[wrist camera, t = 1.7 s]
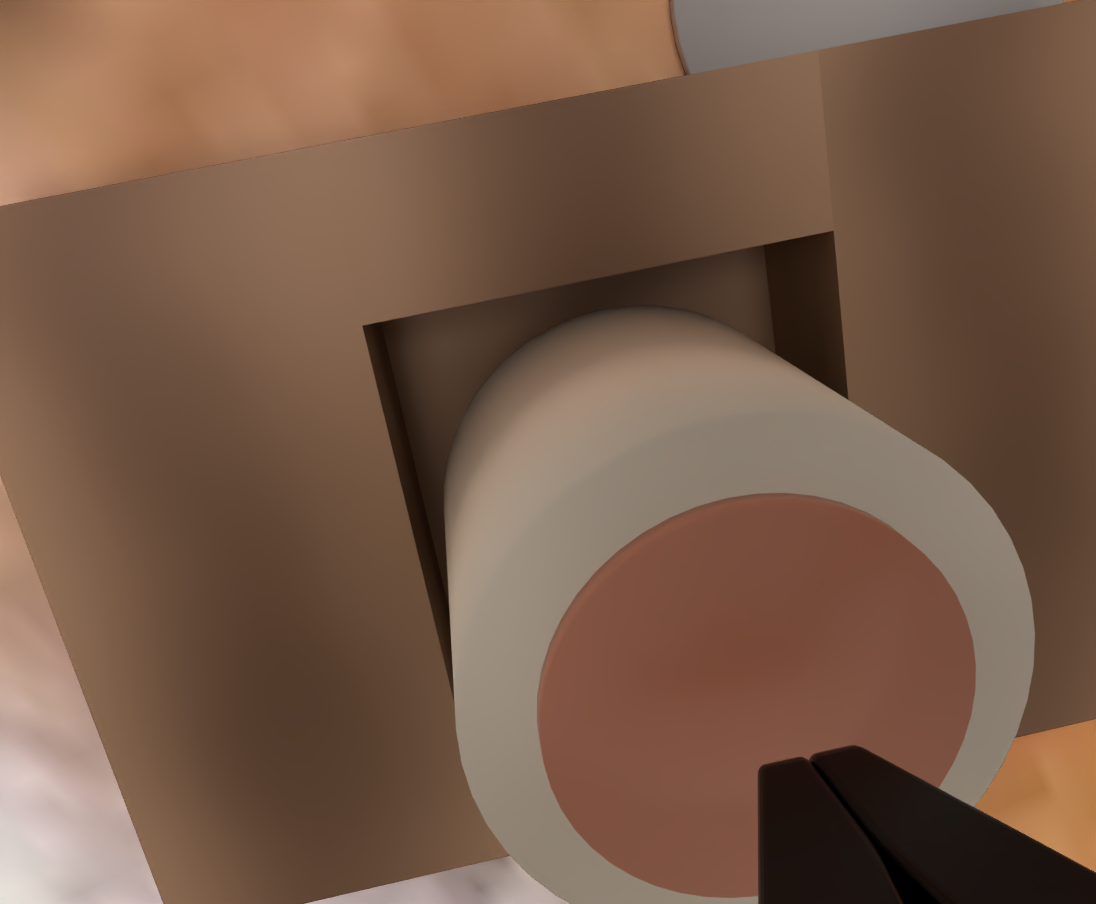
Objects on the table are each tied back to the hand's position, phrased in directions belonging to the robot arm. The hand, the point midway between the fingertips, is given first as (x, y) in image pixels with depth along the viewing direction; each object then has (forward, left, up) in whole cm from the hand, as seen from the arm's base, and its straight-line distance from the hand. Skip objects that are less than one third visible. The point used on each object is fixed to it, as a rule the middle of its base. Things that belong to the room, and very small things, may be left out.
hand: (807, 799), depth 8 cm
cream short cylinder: (0, 0, -8) cm, 8 cm away
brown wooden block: (0, 0, -12) cm, 12 cm away
